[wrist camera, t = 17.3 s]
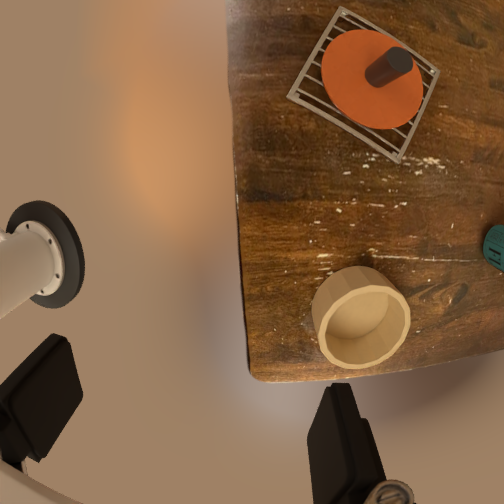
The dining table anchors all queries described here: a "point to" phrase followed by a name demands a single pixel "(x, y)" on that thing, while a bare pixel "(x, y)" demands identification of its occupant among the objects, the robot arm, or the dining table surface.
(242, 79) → the dining table surface
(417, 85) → the lid
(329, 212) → the dining table surface
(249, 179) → the dining table surface
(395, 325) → the pot
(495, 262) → the beverage bottle
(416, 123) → the rack
